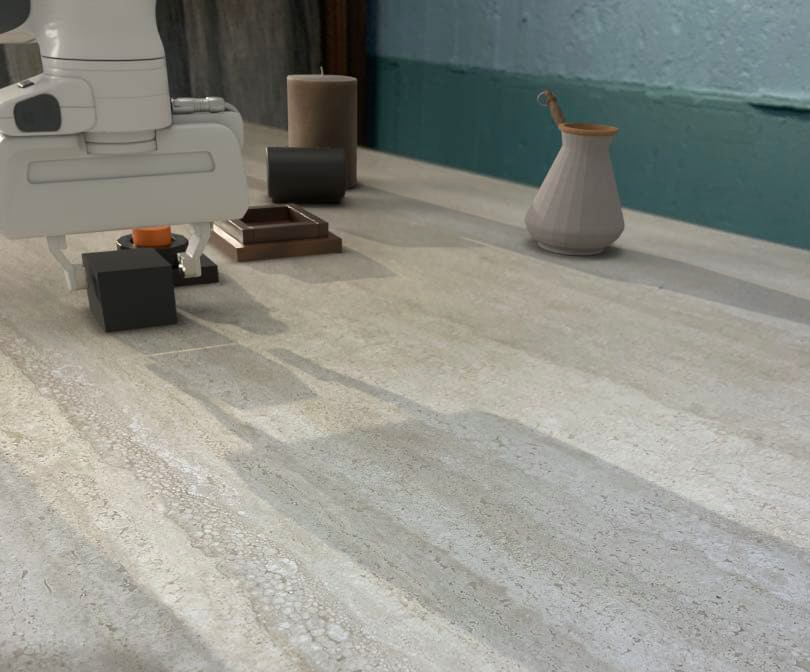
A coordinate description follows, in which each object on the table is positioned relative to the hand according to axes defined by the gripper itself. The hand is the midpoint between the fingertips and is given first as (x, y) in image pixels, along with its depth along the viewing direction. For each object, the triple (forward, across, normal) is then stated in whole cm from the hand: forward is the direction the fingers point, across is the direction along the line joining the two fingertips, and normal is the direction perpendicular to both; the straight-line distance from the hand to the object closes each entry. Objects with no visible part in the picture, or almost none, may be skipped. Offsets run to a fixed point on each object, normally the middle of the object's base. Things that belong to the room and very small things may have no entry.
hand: (135, 282), depth 73 cm
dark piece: (+3, -4, -11) cm, 12 cm away
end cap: (+3, -32, -37) cm, 49 cm away
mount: (+3, -20, -19) cm, 27 cm away
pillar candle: (+3, -39, -47) cm, 61 cm away
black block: (+3, +1, 0) cm, 3 cm away
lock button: (0, -5, -11) cm, 12 cm away
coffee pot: (+4, -54, -11) cm, 55 cm away
